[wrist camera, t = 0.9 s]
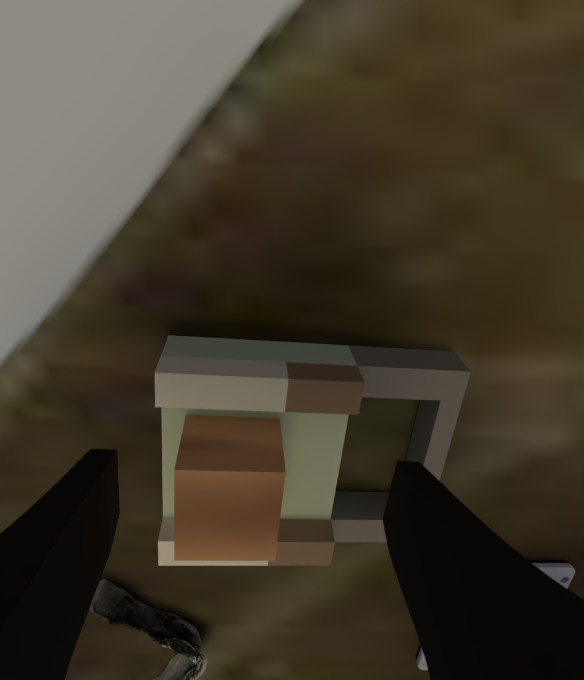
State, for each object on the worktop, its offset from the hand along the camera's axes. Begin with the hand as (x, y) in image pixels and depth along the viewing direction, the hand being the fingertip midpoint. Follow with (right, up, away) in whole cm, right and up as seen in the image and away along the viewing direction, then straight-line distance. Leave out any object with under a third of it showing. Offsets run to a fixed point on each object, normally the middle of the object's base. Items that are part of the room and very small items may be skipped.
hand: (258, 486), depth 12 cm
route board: (+1, -1, +11) cm, 11 cm away
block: (-2, -2, +9) cm, 9 cm away
